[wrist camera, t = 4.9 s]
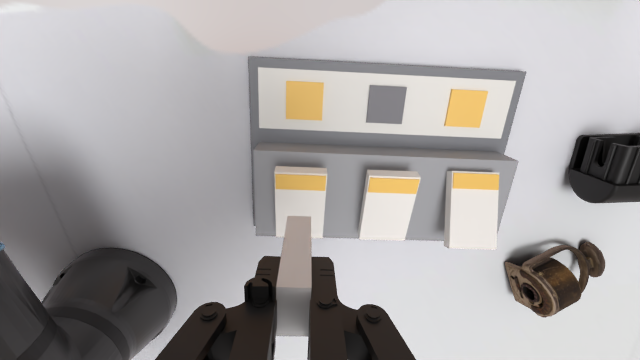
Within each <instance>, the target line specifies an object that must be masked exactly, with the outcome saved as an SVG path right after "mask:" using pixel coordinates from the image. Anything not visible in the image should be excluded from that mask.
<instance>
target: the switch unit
mask: <svg viewBox="0 0 640 360" xmlns="http://www.w3.org/2000/svg"><path fill="white" fill-rule="evenodd" d="M248 60H249V92H250V124H251V155H252V187H253V219H254V226H256V236H276V214H275V178H274V171H275V167H276V166H287V167H313V168H327V186H326V199H325V212H324V226H323V238H359V236H358V227H359V221H360V214H361V208H362V201H363V195H364V188H365V181H366V175H367V170H390V171H416V172H418V174H419V175H420V177H421V179H420V183H419V187H418V191H417V194H416V198H415V202H414V206H413V210H412V214H411V218H410V221H409V225H408V229H407V233H406V237H405V240H429V241H444V229H445V203H446V176H447V171H467V172H492V173H499V195H498V221H497V233H498V230H499V226H500V223H501V219H502V216H503V212H504V209H505V206H506V202H507V199H508V195H509V192H510V189H511V185H512V182H513V178H514V175H515V171H516V168H517V165H518V161H517V160H515V159H512V158H510V157H508V156H505V155H504V152H505V148H506V145H507V141H508V137H509V134H510V130H511V126H512V123H513V119H514V115H515V112H516V108H517V104H518V101H519V97H520V93H521V90H522V86H523V82H524V79H525V75H526V72H523V71H505V70H487V69H468V68H450V67H431V66H413V65H395V64H376V63H358V62H340V61H321V60H303V59H284V58H266V57H248Z"/></svg>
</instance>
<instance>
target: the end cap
mask: <svg viewBox="0 0 640 360" xmlns="http://www.w3.org/2000/svg"><path fill="white" fill-rule="evenodd" d="M569 180H570V184H571V187H572V189H573V191H574V192H575V193H576V195H577V196H578V197H580V198H581V199H583V200H584V201H587V202H590V203H617V202H640V133H637V134H604V135H582V136H579V137H578V138H577V140H576V144H575V147H574V151H573V155H572V158H571V162H570V165H569Z"/></svg>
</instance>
